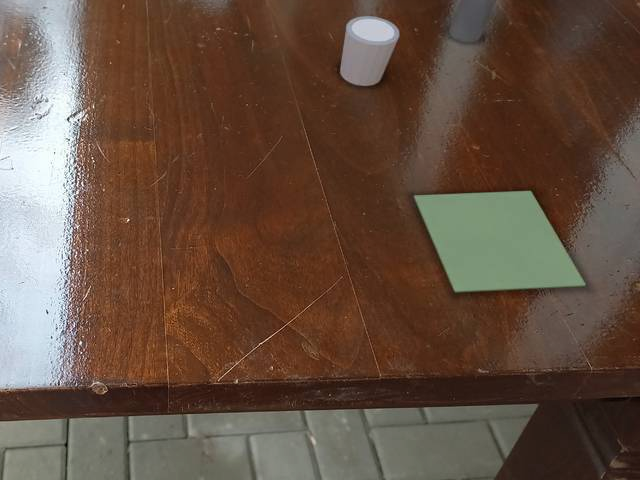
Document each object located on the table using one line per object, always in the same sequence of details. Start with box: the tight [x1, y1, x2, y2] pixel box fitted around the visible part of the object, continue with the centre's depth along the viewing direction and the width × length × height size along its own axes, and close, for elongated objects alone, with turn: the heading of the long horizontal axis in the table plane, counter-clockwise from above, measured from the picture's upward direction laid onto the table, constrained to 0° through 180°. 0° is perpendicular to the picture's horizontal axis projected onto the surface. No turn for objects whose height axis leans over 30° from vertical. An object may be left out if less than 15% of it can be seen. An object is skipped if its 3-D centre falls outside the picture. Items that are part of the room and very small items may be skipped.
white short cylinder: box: [339, 15, 400, 87], centre depth 93 cm, size 7×7×7 cm
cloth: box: [413, 190, 586, 294], centre depth 76 cm, size 14×14×1 cm
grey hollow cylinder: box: [448, 0, 497, 43], centre depth 98 cm, size 4×4×10 cm
